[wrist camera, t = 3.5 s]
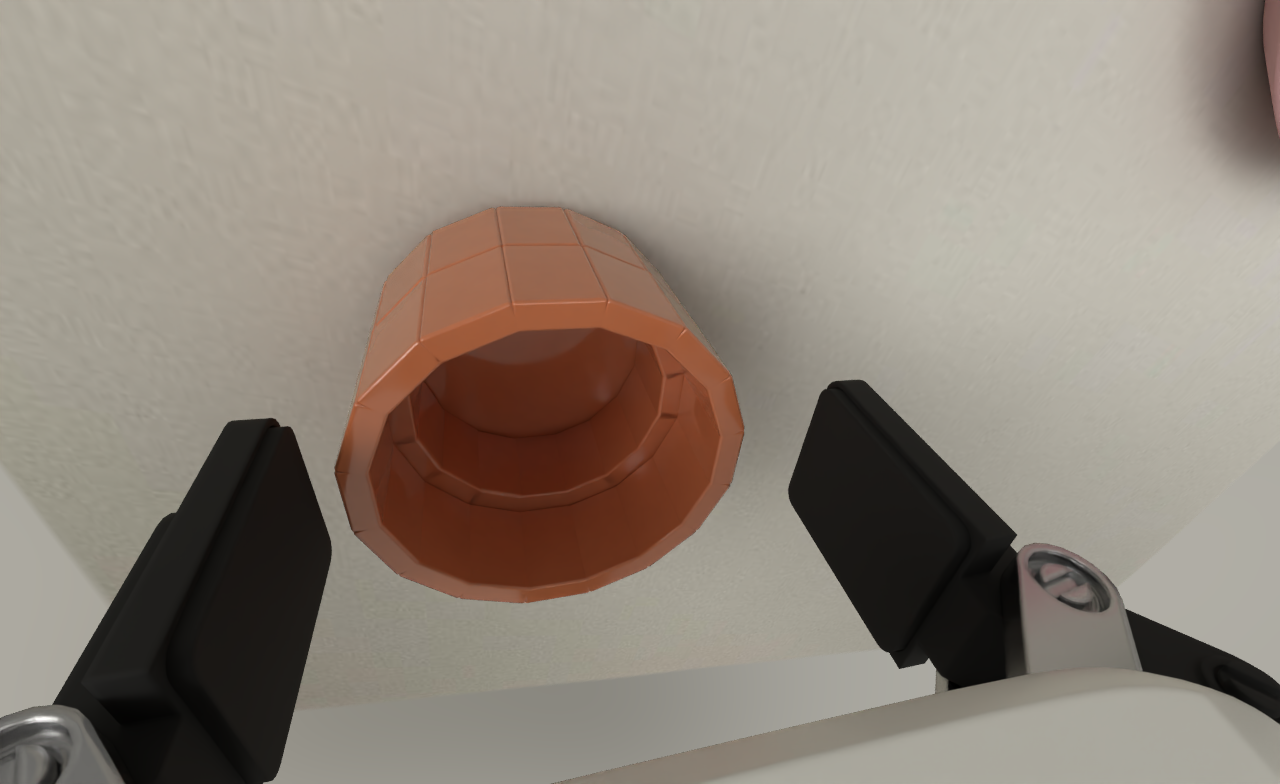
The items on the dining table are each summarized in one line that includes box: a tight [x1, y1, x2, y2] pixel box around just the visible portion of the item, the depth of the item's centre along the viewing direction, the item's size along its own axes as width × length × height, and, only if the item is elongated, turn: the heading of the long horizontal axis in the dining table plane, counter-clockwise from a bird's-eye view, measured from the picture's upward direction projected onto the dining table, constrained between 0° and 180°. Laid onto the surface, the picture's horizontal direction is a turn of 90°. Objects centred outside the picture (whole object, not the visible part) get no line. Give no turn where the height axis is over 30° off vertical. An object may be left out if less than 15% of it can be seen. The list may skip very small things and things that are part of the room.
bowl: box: [334, 207, 744, 603], centre depth 12 cm, size 7×7×5 cm
